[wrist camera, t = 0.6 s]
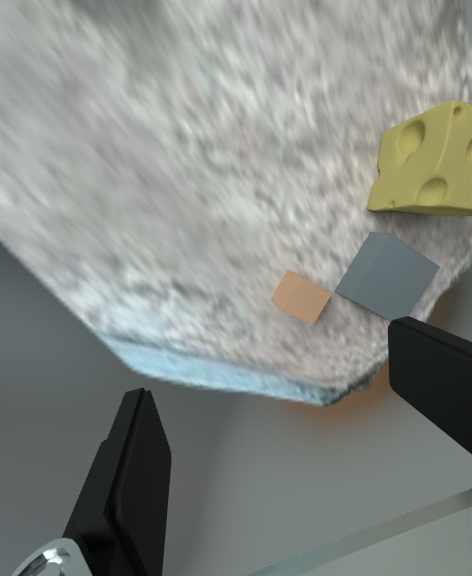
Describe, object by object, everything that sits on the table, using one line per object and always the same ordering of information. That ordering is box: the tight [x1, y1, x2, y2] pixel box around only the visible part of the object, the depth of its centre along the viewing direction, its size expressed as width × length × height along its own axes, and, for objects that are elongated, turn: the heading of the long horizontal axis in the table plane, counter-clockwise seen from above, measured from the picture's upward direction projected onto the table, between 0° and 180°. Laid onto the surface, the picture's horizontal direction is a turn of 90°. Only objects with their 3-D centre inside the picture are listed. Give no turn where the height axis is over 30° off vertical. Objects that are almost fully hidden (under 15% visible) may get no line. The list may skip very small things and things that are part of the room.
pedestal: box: [335, 232, 440, 322], centre depth 37 cm, size 10×10×4 cm
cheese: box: [367, 100, 472, 216], centre depth 31 cm, size 10×11×10 cm
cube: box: [271, 270, 332, 326], centre depth 35 cm, size 5×5×5 cm
